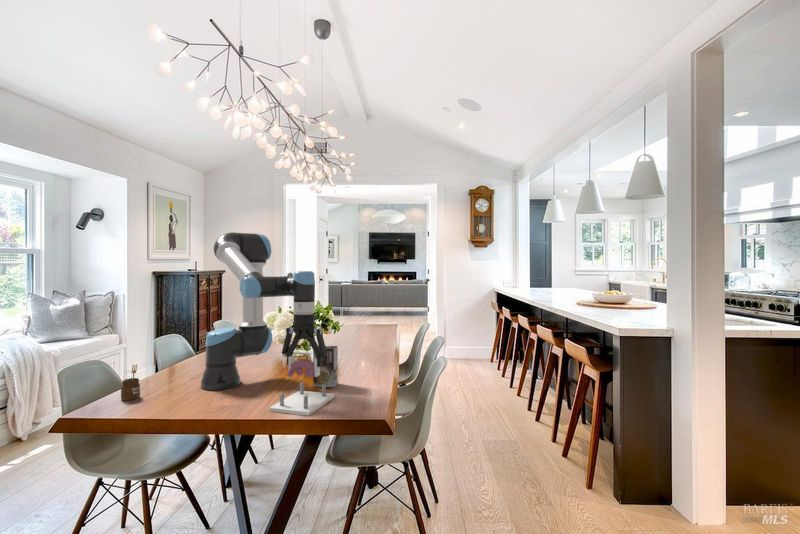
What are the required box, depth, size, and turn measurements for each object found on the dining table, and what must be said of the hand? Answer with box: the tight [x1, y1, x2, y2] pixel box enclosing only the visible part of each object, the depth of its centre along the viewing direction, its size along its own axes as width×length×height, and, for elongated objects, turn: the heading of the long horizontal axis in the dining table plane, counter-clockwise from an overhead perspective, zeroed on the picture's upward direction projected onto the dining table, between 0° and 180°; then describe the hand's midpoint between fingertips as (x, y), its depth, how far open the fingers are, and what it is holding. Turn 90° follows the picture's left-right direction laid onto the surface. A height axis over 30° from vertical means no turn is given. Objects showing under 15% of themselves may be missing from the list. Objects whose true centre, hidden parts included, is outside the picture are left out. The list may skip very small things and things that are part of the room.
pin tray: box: [268, 382, 335, 417], centre depth 142 cm, size 15×20×5 cm
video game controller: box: [287, 358, 315, 380], centre depth 141 cm, size 10×5×7 cm, turn 72°
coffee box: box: [312, 345, 339, 388], centre depth 165 cm, size 9×6×16 cm
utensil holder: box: [120, 364, 141, 402], centre depth 147 cm, size 6×6×12 cm
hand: (304, 374), depth 142 cm, fingers closed on video game controller, 10 cm apart
